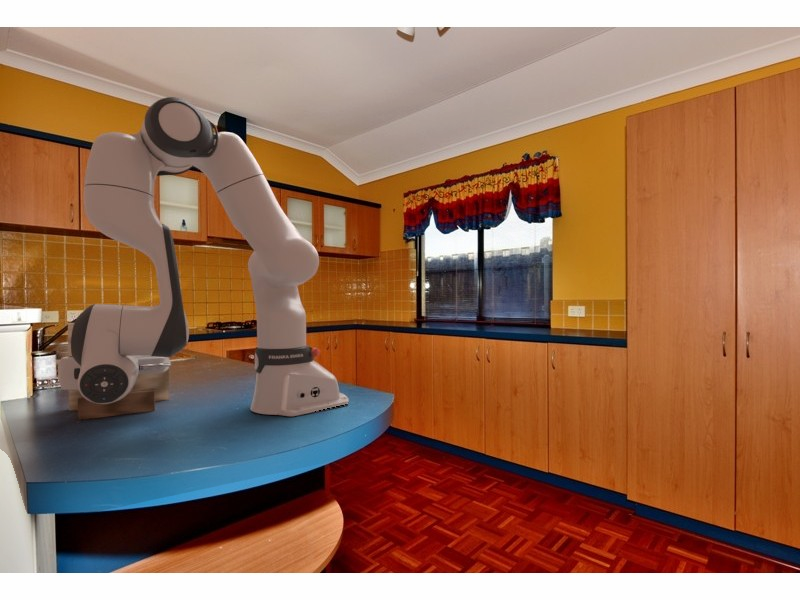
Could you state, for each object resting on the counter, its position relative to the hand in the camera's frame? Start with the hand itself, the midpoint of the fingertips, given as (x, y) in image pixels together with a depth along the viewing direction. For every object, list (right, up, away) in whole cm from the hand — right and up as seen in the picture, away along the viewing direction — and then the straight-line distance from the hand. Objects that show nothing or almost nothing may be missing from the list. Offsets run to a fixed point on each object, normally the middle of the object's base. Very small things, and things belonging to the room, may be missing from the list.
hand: (119, 360), depth 97 cm
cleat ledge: (+1, -11, -1) cm, 11 cm away
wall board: (-2, -11, +4) cm, 12 cm away
